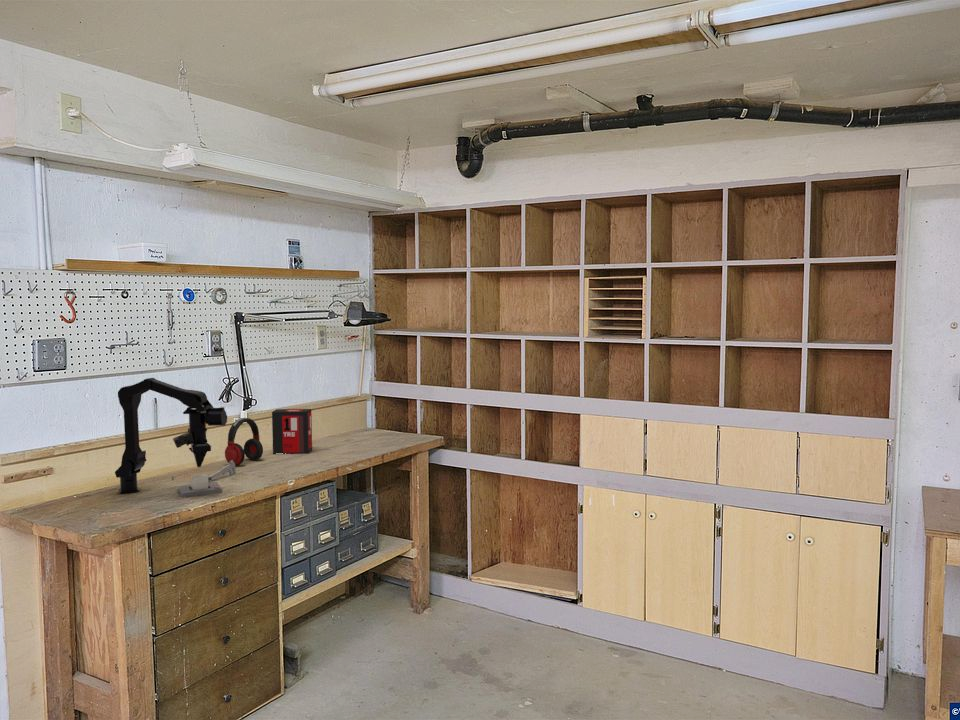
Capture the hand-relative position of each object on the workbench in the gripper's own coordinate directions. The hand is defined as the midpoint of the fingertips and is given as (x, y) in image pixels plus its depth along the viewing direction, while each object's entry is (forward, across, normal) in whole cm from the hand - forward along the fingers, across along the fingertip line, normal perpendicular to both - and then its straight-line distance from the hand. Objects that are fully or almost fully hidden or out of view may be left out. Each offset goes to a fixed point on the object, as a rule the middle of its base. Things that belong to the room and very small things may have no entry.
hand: (198, 467), depth 270 cm
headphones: (+10, -43, +25) cm, 51 cm away
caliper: (+10, -17, +9) cm, 21 cm away
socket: (+9, 0, 0) cm, 9 cm away
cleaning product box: (+10, -56, +50) cm, 76 cm away
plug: (+9, 0, 0) cm, 9 cm away
